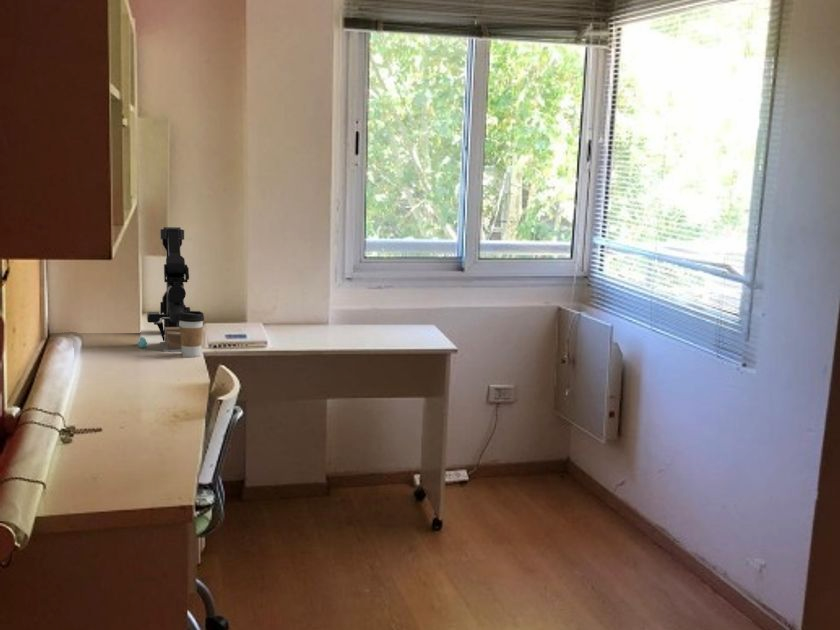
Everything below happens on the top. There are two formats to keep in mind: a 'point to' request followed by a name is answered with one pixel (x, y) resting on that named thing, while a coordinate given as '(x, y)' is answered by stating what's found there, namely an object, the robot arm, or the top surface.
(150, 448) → the top surface
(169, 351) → the felt mat
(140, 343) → the marble
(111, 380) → the top surface
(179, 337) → the walnut cover
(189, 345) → the coffee cup
